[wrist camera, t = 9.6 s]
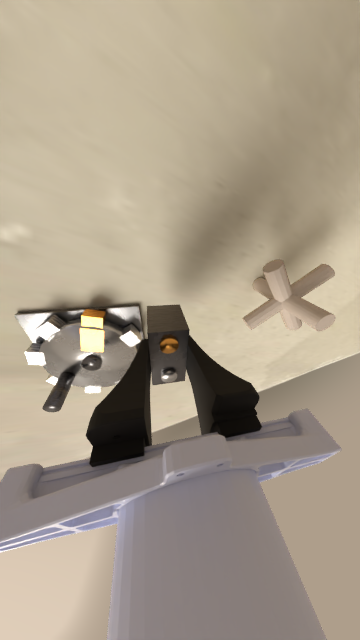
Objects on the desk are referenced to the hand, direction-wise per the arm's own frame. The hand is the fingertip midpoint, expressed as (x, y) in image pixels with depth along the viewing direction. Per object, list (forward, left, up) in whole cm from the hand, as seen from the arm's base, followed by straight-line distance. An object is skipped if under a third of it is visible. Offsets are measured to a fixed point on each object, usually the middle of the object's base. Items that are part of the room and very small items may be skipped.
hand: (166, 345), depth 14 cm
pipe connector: (-2, +14, -9) cm, 17 cm away
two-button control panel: (0, 0, -2) cm, 2 cm away
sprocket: (+7, -10, -8) cm, 15 cm away
